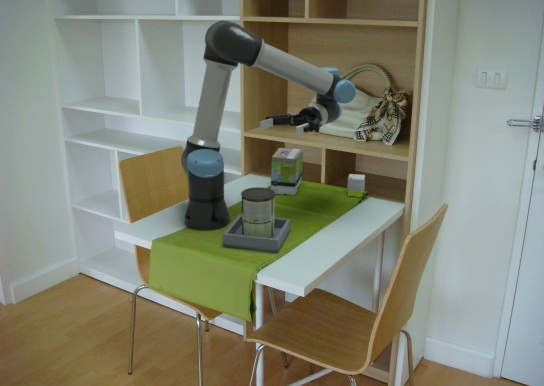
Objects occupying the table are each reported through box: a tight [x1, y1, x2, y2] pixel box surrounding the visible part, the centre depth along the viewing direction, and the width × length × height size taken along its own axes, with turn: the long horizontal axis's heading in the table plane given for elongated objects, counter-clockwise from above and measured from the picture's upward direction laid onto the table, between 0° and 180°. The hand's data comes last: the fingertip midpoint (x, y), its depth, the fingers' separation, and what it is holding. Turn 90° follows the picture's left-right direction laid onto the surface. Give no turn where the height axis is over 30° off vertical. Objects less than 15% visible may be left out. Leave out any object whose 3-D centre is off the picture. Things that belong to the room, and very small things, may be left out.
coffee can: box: [240, 186, 276, 238], centre depth 173 cm, size 10×10×14 cm
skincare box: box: [346, 173, 366, 193], centre depth 214 cm, size 6×6×7 cm
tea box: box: [270, 147, 303, 196], centre depth 219 cm, size 15×10×15 cm
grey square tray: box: [222, 213, 292, 253], centre depth 175 cm, size 17×17×4 cm
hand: (278, 128), depth 177 cm, fingers open, 13 cm apart
